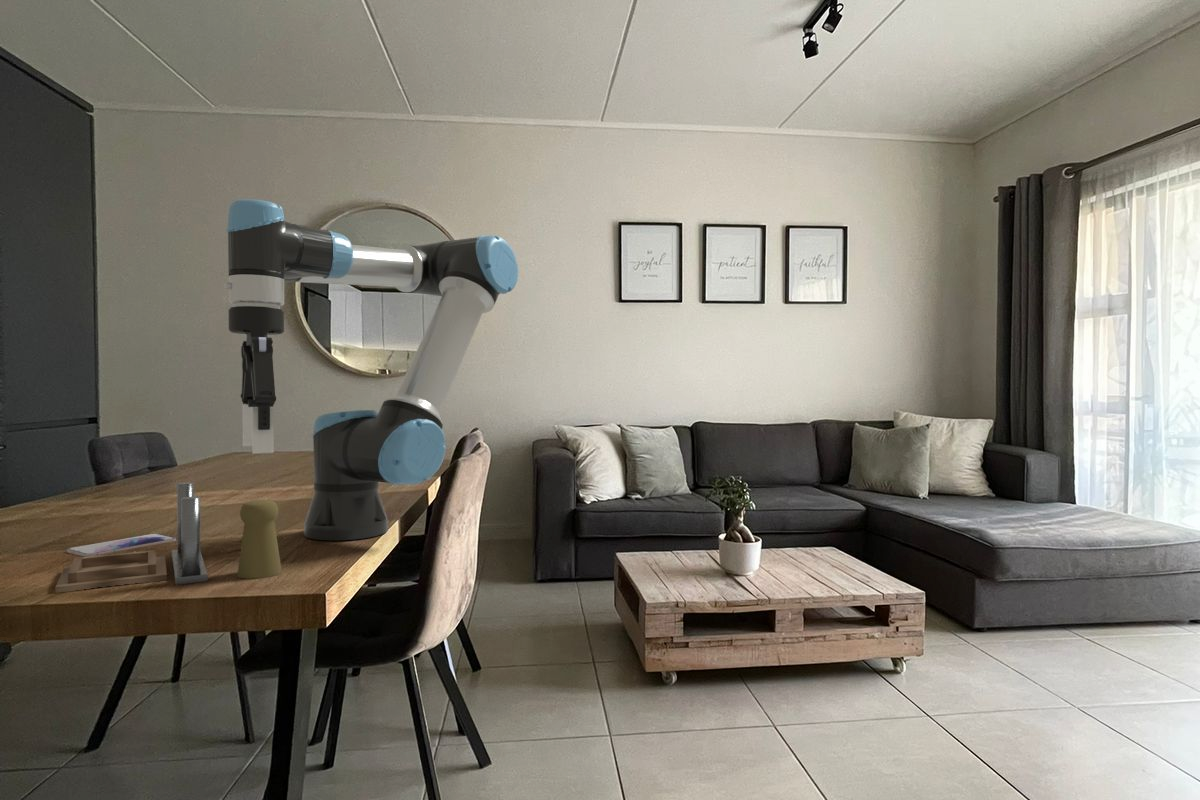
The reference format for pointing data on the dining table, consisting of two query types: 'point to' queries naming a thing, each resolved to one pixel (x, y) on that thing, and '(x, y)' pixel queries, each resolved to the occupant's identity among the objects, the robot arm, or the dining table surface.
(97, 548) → the smartphone
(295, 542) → the dining table surface
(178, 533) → the clip
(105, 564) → the end holder
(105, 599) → the dining table surface
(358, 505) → the robot arm
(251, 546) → the cork
